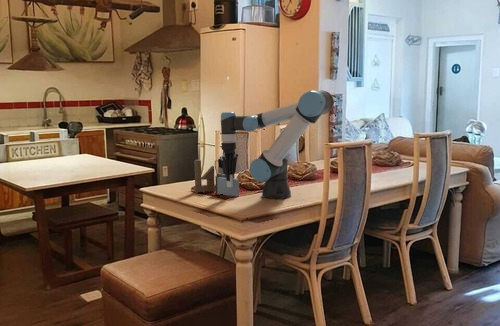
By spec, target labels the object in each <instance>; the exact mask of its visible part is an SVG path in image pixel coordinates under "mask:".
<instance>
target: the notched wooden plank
mask: <svg viewBox="0 0 500 326" xmlns="http://www.w3.org/2000/svg"><path fill="white" fill-rule="evenodd" d="M218 177H221V178H226V175H225V174H222V173H218V174H217V173H216V175H214V181H215V194H216V193H217V178H218ZM233 179H236V178H235V174H233Z"/></svg>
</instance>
